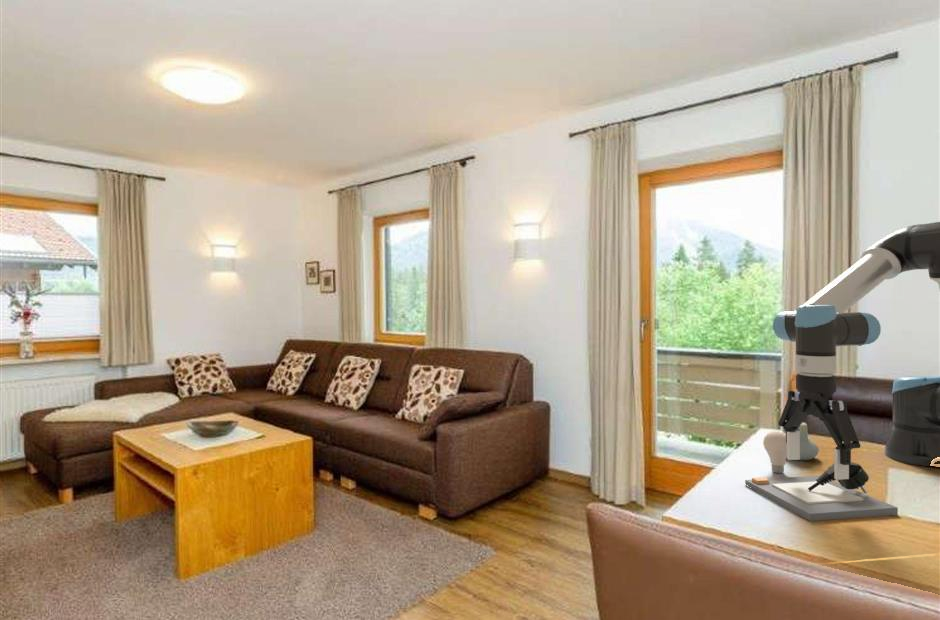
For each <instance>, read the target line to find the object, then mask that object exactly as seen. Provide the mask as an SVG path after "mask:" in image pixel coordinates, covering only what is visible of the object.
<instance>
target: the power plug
mask: <svg viewBox="0 0 940 620" xmlns="http://www.w3.org/2000/svg"><path fill="white" fill-rule="evenodd" d="M820 475H821V477H819V479H817V480H816V481H817V483H815V484H814V485H812V486H811V487H809V488H808V490H809V491H811V490H812V489H814V488H815V487H817V486H818V485H822V486H823V485H825V484H827V483H829V481H830V482H832V481H836V480H837V479H834V463H833V464H832V465H831V466H829V467H828V468H827V469H826V470H825V471H823V473H821V474H820ZM869 479H870V477H869V475H868V473H867V472H866V470H865V469H864V468H863V467H862V465H861V464H859V463H857V462H853V461H851V463H850V465H849V479H842V480H837V482H838V483H840V484H841V485H842V487H845V489H854V490H859V489H860V490H861V491H862V493H864V494H867V493H868V490H867V489H866V486H864V485H866V483H867V482H869ZM831 480H832V481H831ZM826 482H827V483H826ZM824 483H825V484H824Z"/></svg>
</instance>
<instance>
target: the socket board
mask: <svg viewBox="0 0 940 620" xmlns="http://www.w3.org/2000/svg"><path fill="white" fill-rule="evenodd" d="M821 475H822V474H819V475H808V476H807V475H806V476H804V475H803V476H789V477H787V476H786V477H773V478H772V477H771V478H766V477H763V476H762V477H751V479H745V480H744V483H745V484H746V485H748V486H749V487H751V488H753V489H754V490H753V489H752V490H753V491H755V490H756V491H758V492H759V493H758V492H757V493H758V494H760V493H761V494H760V495H762V494H763V495H764V496H763V495H762V496H763V497H765V496H766V497H765V498H767V497H768V498H767V499H769V500H771V501H772V502H774V501H775V502H774V503H776V504H778V505H779V506H781V507H783V508H785V509H787V510H789V511H790V512H792V513H794V514H796V515H798V516H799V517H801V518H803V519H806V520H807V521H809V522H817V521H830V520H844V519H845V520H846V519H858V518H859V519H860V518H873V517H886V516H898V513H899V512H898V511H899V509H898V507H897V506H895V505H892V504H891V503H888V502H885V501H883V500H881V499H878V498H875V497H873V496H871V495H868V494H867V493H864V492H861V491H858V489H845V487H842V485H841V484H840V483H839V482H838V481H836V480H834V481H832V480H831V481H832V482H830V481H829V483H827V482H826V483H827V484H825V483H824V484H825V485H823V486H822V485H818V486H817V487H815V488H814V489H812V490H811V491H809V490H808V488H809V487H811V486H812V485H814V484H815V483H817V481H816V480H817V479H819V477H821ZM746 485H745V486H746ZM749 487H748V488H749ZM751 488H750V489H751ZM756 491H755V492H756Z"/></svg>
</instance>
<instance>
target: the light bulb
mask: <svg viewBox="0 0 940 620" xmlns="http://www.w3.org/2000/svg"><path fill="white" fill-rule="evenodd" d="M762 445H763V447H764V449H765V451H766V453H767V455H768V457H769V461H770V463H771V471H772V472H773V473H775V474H783V473H784V471H785V465H786V461H787V444H786V434H785V433H783V431H780V430H774V431H773V430H772V431H769V432H767V433H766V434H765V436H764V437H763V443H762Z"/></svg>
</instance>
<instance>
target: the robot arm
mask: <svg viewBox="0 0 940 620" xmlns="http://www.w3.org/2000/svg"><path fill="white" fill-rule="evenodd" d="M914 270H928V276H929V279H930V280H932V281H934V282H935V283H937V284H938V289H939V291H940V221H936V222H930V223H921V224H920V223H918V224H913V225H909V226H906V227H903V228H901V229H898V230H896V231H894V232H892V233H890V234H888V235H886V236H884V237H883V238H881V239H879V240H878V241H877V242H875V243H873V244H872V245H871V246H869V247H868V248H867V249H866V250H865V251H863V252H862V253H861V256H860V259H859V260H858V261H857V262H855V263H854V264H853V265H852V266H850V267H849V268H848V269H846V270H845V271H844V272H843V273H841V274H840V275H839V276H838V277H836V278H835V279H834V280H832V281H831V282H830V283H828V284H827V285H826V286H825V287H824V288H822V289H821V290H819V291H818V292H817V293H816V294H815V295H813V296H812V297H811V298H809V299H808V300H807V301H805V303H803V304H802V305H799V306H797V308H796V309H795V310H793V311H792V310H786V311H782V312H779V313H778V314H776V315H775V316H774V318H773V320H772V330H773V333H774V334H775V336H776V337H778V339H780V340H783V341H789V342H795V371H796V372H797V374H796V375H795V390H789V391H788V392H787V401H786V403H785V406H784V409H783V410H782V413H781V416H780V417H779V421H778V426H779V427H782V429H783V428H784V430H785V431H786V444H787V458H786V460H788V461H799V460H798V459H800V432H798V431H795V430H797V429H798V427H799V426H800V425H801V424H802V422H804V421H805V420H806V419H807V417H808V416H809V415H810V416H814V417H816V418H819V420H820V421H822V422H823V424H824V425H825V428H826V429H827V430H828V432H829V434H830V436H831V438H832V440H833V441H834V443H835V445H836V447H834V448H833V450H834V451H833V462H834V463H833V464H834V479H836V480H837V481H838V480H842V479H849V465H850V463H851V462H852V450H853V449H860V448H861V443H860V440H859V438H858V436H857V433H856V430H855V428H854V426H853V423H852V420H851V417H850V414H849V412H848V404H847V401H846V400H844V399H843V400H835V399H834V398H833V395H834V393H836V392H837V377H836V376H835V374H837V347H843V346H844V347H845V346H852V347H853V346H858V347H861V346H865V345H871V344H872V343H874V342H876V341H877V340H878V339H879V337H880V335H881V331H882V326H881V324H880V323H881V322H880V321H879V319H878V318H877V317H875V316H874V314H871V313H869V312H861V311H854V312H846V311H848V310H849V309H850V308H851V307H852V306H854V305H855V304H857V303H858V302H859V301H860V300H861V299H863V298H864V297H865V296H867V295H868V294H869V293H870V292H872V291H873V290H874V289H875V288H876V287H879V285H880V284H881V283H883V282H884V281H885V280H890V279H893V278H896V277H897V276H898V275H900V274H902V273H904V272H909V271H914ZM892 383H893V384H892V391H891V394H892V429H891V431H890V434H889V437H888V439H887V442H886V444H885V446H884V455H885V457H887V458H889V459H890V460H893V461H897V462H900V463H905V464H909V465H914V466H919V465H921V467H926V466H930V464H931V461H932V460H933V459H935V458H937V457H940V375H921V376H920V375H915V376H900V377H896V378H895V379H894V380H893V382H892ZM934 464H940V461H937V462H935V463H934Z"/></svg>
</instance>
